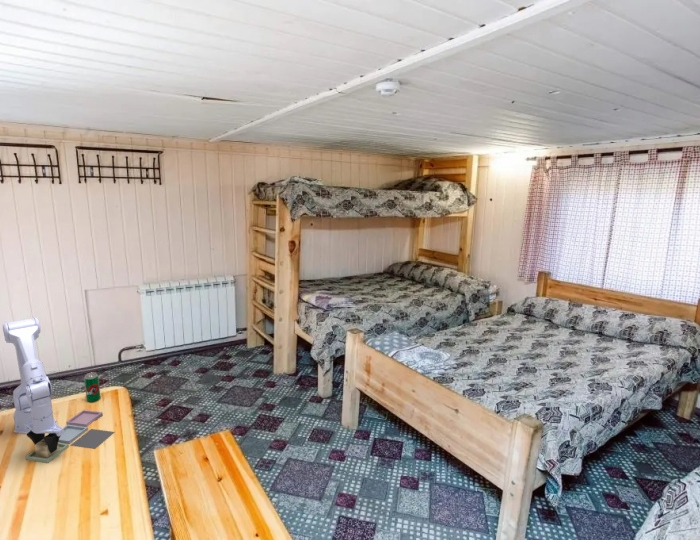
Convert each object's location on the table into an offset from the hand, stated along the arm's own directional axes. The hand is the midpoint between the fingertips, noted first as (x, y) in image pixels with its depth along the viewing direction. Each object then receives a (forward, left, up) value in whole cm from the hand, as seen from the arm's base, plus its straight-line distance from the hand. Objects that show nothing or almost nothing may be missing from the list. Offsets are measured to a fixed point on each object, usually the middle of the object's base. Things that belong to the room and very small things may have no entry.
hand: (47, 449), depth 137 cm
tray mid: (-1, +10, -2) cm, 10 cm away
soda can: (-11, +34, -2) cm, 36 cm away
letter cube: (0, 0, -1) cm, 1 cm away
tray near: (0, 0, -2) cm, 2 cm away
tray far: (-3, +20, -2) cm, 20 cm away
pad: (+9, +10, -2) cm, 14 cm away
